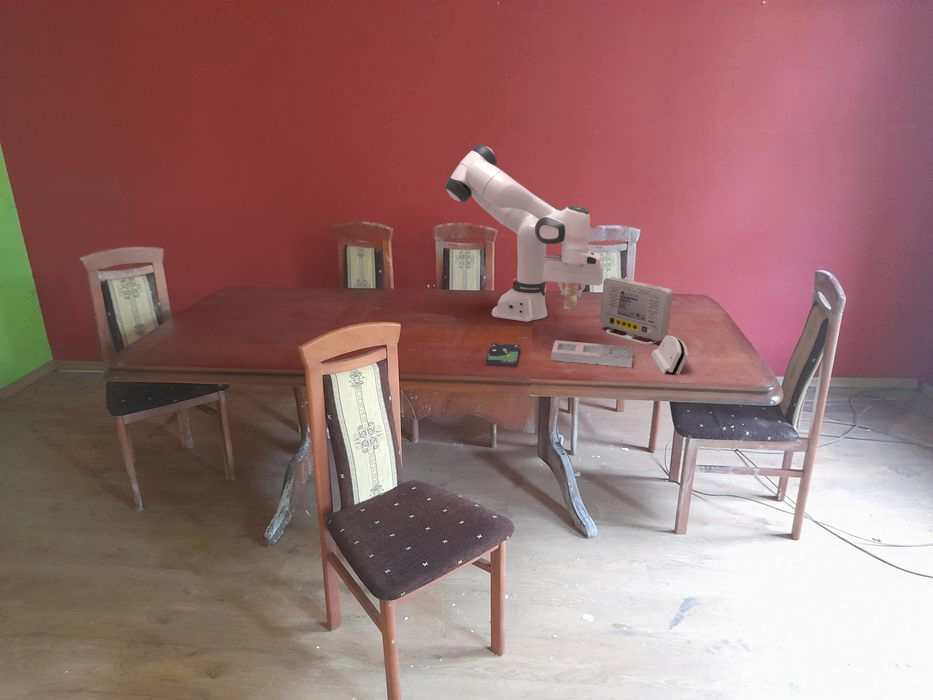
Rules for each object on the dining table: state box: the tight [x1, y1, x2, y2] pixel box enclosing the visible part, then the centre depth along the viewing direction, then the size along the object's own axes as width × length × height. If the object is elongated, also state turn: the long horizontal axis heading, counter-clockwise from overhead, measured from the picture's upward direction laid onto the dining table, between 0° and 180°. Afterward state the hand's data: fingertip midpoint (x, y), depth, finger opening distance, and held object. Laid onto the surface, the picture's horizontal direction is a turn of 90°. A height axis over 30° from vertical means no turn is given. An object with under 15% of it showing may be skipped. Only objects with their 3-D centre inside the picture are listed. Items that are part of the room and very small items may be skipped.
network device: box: [599, 276, 674, 346], centre depth 216 cm, size 26×9×20 cm, turn 44°
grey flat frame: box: [550, 339, 634, 369], centre depth 200 cm, size 26×11×3 cm, turn 76°
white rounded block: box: [651, 335, 689, 376], centre depth 194 cm, size 17×5×10 cm, turn 177°
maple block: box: [563, 283, 579, 310], centre depth 206 cm, size 4×4×9 cm
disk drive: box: [486, 342, 521, 368], centre depth 201 cm, size 10×3×15 cm
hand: (571, 295), depth 206 cm, fingers closed on maple block, 4 cm apart
